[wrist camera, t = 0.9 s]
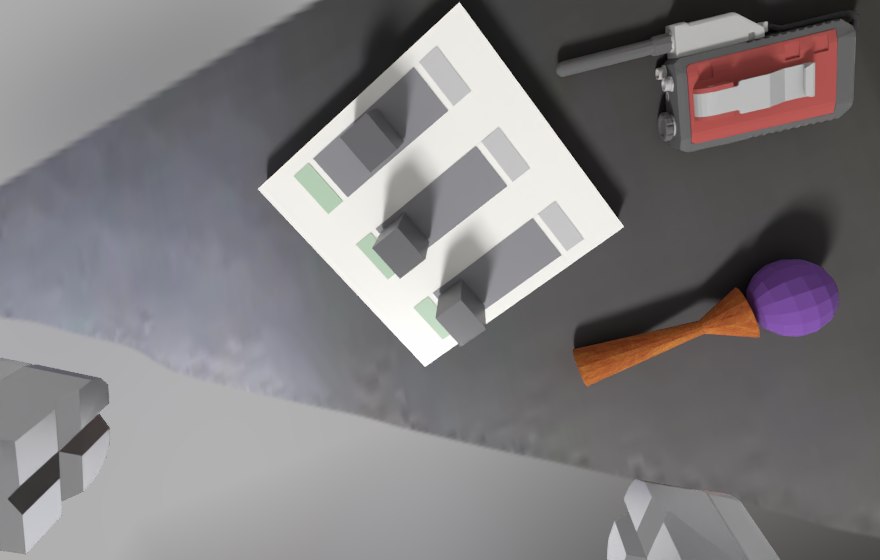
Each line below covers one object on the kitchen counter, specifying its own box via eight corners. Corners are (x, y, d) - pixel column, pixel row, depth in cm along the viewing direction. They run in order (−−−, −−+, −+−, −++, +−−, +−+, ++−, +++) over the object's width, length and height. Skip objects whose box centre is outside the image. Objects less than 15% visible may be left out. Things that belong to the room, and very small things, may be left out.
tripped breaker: (377, 108, 38) (366, 112, 34) (404, 141, 39) (397, 149, 35) (352, 130, 39) (339, 137, 35) (380, 162, 40) (370, 172, 36)
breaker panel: (459, 5, 38) (459, 1, 36) (617, 219, 43) (624, 226, 41) (266, 183, 43) (257, 189, 41) (426, 355, 48) (424, 367, 46)
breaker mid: (404, 212, 41) (397, 227, 37) (429, 241, 42) (425, 259, 38) (381, 231, 42) (372, 248, 38) (406, 259, 42) (400, 279, 38)
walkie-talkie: (845, -20, 36) (550, 55, 39) (893, -31, 32) (560, 53, 35) (842, 112, 39) (568, 172, 42) (885, 117, 35) (579, 184, 38)
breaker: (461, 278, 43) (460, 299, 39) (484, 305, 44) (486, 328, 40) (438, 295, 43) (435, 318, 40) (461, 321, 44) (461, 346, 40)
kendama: (567, 349, 43) (840, 255, 37) (566, 326, 49) (802, 241, 43) (595, 413, 44) (866, 330, 38) (590, 383, 49) (826, 307, 44)
